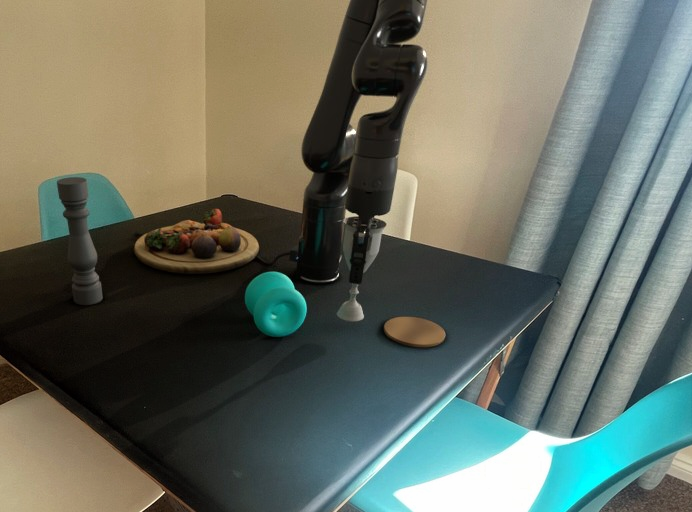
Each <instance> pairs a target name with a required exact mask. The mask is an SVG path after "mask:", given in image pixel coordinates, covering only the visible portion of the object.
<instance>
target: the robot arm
mask: <svg viewBox="0 0 692 512" xmlns="http://www.w3.org/2000/svg"><path fill="white" fill-rule="evenodd" d="M427 3H428V0H349V2H348V5H347V9H346V11H345V14H344V18H343V21H342V25H341V28H340V31H339V34H338V36H337V41H336V45H335V48H334V52H333V54H332V58H331V61H330V64H329V67H328V70H327V74H326V77H325V81H324V84H323V87H322V91H321V93H320V96H319V99H318V102H317V104H316V107H315V109H314V111H313V114H312V115H311V119H310V121H309V124H308V125H307V129H306V130H305V133H304V135H303V139H302V142H301V149H300V152H301V159H302V163H303V165H304V166H305V167H306V168H307V170H309V171H310V172H311V173H312V175H311V178H310V180H309V181H308V183H307V185H306V186H305V188H304V191H303V199H302V212H301V225H300V228H301V229H300V236H299V238H298V244H296V245H295V246H294V247H292V248H290V249H289V251H287V252H286V251H285V252H282V253H279V254H278V255H277V256H275V257H274V258H273V260H272V261H266V260H264V259H263V258H261V257H260V256H258V254H257V255H256V256H255V257H254V259H256V260H258V261H259V262H261V263H263V264H265V265H268V266H272V265H274V264H276V263H277V261H278V260H279V259H280V258H282V257H285V256H289V259H288V261H290V262H294V263H296V271H295V279H296V280H301V281H303V282H305V283H309V284H314V285H325V284H332V283H334V282H336V281H338V279H339V272H340V262H341V260H342V254H341V253H342V248H343V239H344V231H345V225H344V222H343V220H344V219H345V218H346V212H349V213H350V214H355V215H356V216H358V218H354V222H353V225H352V227H355V228H357V229H356V231H355V232H354V233H353V234H352V240H351V246H350V247H351V249H352V253H351V259H350V264H351V270H349V275H348V276H349V277H348V282H349V284H351V283H352V284H359V285H362V282H363V276H364V273H363V271H364V265H365V263H366V261H367V260H366V256H367V252H368V251H370V250H371V244H372V239H373V236H372V237H371V238H370V229H376V227H377V221H378V220H373V218H375V217H376V216H378V217H381V216H385V215H388V214H389V212H390V211H391V208H392V203H393V198H394V191H395V186H396V180H397V175H398V168H399V167H398V165H399V156H400V155H399V154H400V149H401V143H402V138H403V133H404V129H405V125H406V121H407V118H408V115H409V113H410V110H411V108H412V105H413V102H414V100H415V98H416V96H417V94H418V92H419V89H420V88H421V85H422V84H423V81H424V79H425V76H426V74H427V70H428V56H427V52H426V51H425V49H424V48H423V47H422V46H421V45H419V44H410V43H409V44H405V43H406V42H410V41H412V40H413V39H414V38H416V37H417V36H418V35H419V33H420V32H421V29H422V27H423V24H424V18H425V14H426V8H427ZM362 96H364V97H381V98H383V97H384V98H395V99H396V100H395V101H394V104H393V105H392V106H391V107H389V108H387V109H385V110H381V111H380V110H379V111H375V112H369V113H366V114H363V115H362V116H361V117H360V118H359V120H358V122H357V127H356V129H355V128H354V127H353V125H351V120H352V118H353V114H354V111H355V110H356V106H357V105H358V102H359V101H360V99H361V98H362ZM134 234H135V235H137V236H139V237H142V236H143V235H145V233H141V232H138V231H135V233H134ZM368 241H369V244H368ZM355 253H362V254H363V258H362V257H355ZM352 284H351V285H352Z"/></svg>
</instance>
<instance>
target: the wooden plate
mask: <svg viewBox="0 0 692 512" xmlns="http://www.w3.org/2000/svg"><path fill="white" fill-rule="evenodd" d="M222 220H223V215H222V212H221V210H220V209H219V208H213V209H210V212H208V211H205V213H204V216H203V217H202V220H201V222H202V223H201V222H199V221H193V220H190V219H187V220H182V221H179V222H178V223H175V224H174V225H169V226H163V227H161V228H157V229H153V230H151V231H148V232H147V233H144V235H143V236H139V238H138V239H137V240H136V241H135V243H134V247H133V252H134V255H135V256H136V258H137V259H138V260H139V261H140V262H141V263H142V264H144V265H145V266H148V267H151V268H153V269H156V270H160V271H163V272H168V273H173V274H185V275H204V274H205V275H207V274H213V273H214V274H215V273H216V274H217V273H222V272H225V271H230V270H233V269H237V268H240V267H243V266H244V265H246V264H248V263H250V262H251V261H252V260H254V259H255V256H256V255H257V256H258V253H259V251H260V245H259V242H258V240H257V238H256V237H254V235H253V234H251V233H249V232H247V231H245V230H242V229H240V228H237V227H234V226H232V225H231V224H229V223H226V222H223V221H222Z"/></svg>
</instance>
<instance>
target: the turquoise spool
mask: <svg viewBox="0 0 692 512" xmlns="http://www.w3.org/2000/svg"><path fill="white" fill-rule="evenodd" d="M294 285H295V284H294V283H293V282H292V280H291V278H289V277H288V276H287V275H286V274H284V273H282V272H278V271H267V272H262V273H261V274H259V275H257V276H256V277H254V278H253V279H252V280H251V281H250V282H249V284H248V285H247V287H246V290H245V293H244V303H245V307H246V309H247V310H248V312H249V313H250V314H251V315H252V316H253V321H254V325H255V326H256V328H257V330H259V331H260V332H261V333H262V334H264V335H266V336H268V337H271V338H272V337H273V338H281V337H283V338H284V337H287V336H289V335H291V334H293V333H294V332H296V331H297V330H298V329H299V328H300V327H301V326H302V324H303V323H304V322H305V319H306V316H307V312H308V311H307V310H308V309H307V308H308V307H307V302H306V300H305V297H304V296H303V295H302V294H301V292H299V290H297V289H295V286H294Z"/></svg>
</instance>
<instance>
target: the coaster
mask: <svg viewBox="0 0 692 512" xmlns="http://www.w3.org/2000/svg"><path fill="white" fill-rule="evenodd" d="M383 331H384V334H385V335H386V336H387V337H388V338H389V339H391V340H392V341H394V342H396V343H398V344H401V345H403V346H409V347H413V348H431V347H436V346H439V345H440V344H442V343H443V342H444V340H445V338H446V332H445V330H444V328H443V327H441V326H440V325H439V324H437V323H436V322H433V321H431V320H430V319H429V320H428V319H425V318H422V317H416V316H398V317H393V318H390V319H388V320H387V321H386V322H385V323H384V325H383Z"/></svg>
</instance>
